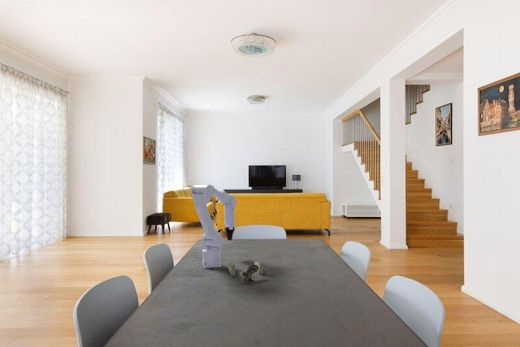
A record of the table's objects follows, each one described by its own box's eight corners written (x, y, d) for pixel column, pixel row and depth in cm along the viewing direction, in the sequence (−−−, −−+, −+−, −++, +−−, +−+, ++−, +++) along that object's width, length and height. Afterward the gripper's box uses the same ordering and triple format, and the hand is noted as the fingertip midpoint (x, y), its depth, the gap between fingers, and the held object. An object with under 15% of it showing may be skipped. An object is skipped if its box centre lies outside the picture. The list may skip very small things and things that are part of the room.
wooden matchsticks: (230, 276, 146) (230, 266, 146) (227, 268, 159) (227, 258, 159) (263, 274, 149) (263, 263, 149) (257, 266, 163) (257, 256, 163)
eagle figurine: (258, 281, 136) (262, 271, 145) (249, 268, 136) (253, 258, 145) (244, 289, 138) (249, 278, 147) (235, 276, 138) (240, 266, 147)
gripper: (238, 217, 172) (238, 242, 172) (234, 214, 187) (235, 237, 187) (225, 218, 171) (225, 243, 171) (223, 215, 185) (223, 238, 185)
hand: (229, 240), depth 179 cm, fingers closed
